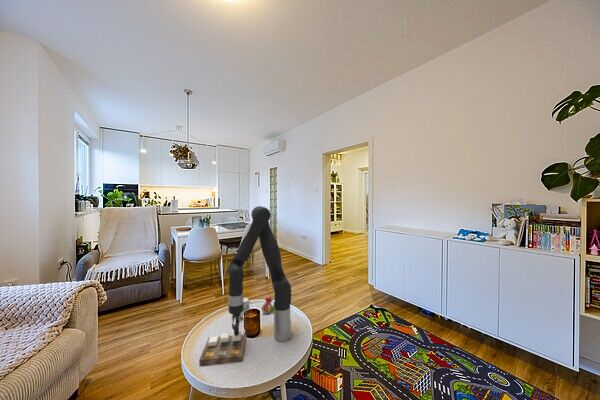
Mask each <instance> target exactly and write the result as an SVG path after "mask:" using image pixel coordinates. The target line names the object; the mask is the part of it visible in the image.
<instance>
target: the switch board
mask: <svg viewBox="0 0 600 400" xmlns="http://www.w3.org/2000/svg"><path fill="white" fill-rule="evenodd" d="M217 337H218V342H217V345H216V346H208V342H209V339H210V337H208V338H207V340H206V343H205V345H204V348H203V350H202V353H201V355H200V357H199V360H198V363H199V367H202V366H203V367H205V366H211V365H212V366H215V365H223V364H225V365H226V364H232V363H243V361H244V357H245V356H244V355H245V349H246V343H247V334H241V340H240V341H232V337H233V335H230V338H229V341H228V342H220V338H221V336H217Z"/></svg>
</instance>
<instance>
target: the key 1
mask: <svg viewBox="0 0 600 400" xmlns="http://www.w3.org/2000/svg"><path fill="white" fill-rule="evenodd" d="M218 337H219V336H210V337H209V338H210V339H209V342H208V346H216V345H217V342H218Z"/></svg>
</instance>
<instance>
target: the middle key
mask: <svg viewBox="0 0 600 400" xmlns="http://www.w3.org/2000/svg"><path fill="white" fill-rule="evenodd" d="M230 336H231V333H230V332H224V333H221V336H220V337H221V338H220V342H228V341H229V338H230Z"/></svg>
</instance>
